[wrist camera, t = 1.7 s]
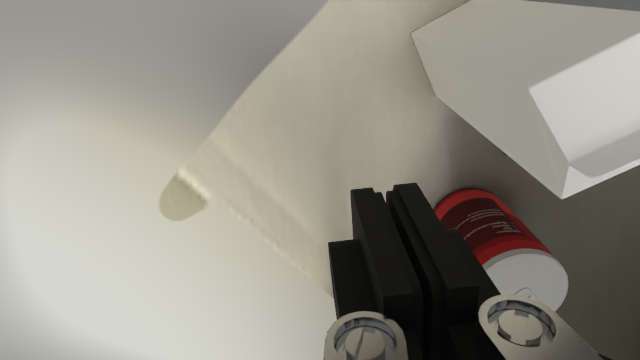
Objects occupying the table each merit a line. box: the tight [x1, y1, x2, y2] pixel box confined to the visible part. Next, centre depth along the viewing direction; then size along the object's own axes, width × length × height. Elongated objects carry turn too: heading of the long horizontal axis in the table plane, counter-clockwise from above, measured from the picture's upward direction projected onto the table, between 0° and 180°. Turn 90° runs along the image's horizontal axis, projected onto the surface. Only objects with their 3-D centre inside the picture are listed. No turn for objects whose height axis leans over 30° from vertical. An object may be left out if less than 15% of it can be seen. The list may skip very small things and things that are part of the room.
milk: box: [411, 0, 640, 199], centre depth 25 cm, size 6×6×22 cm
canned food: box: [434, 189, 568, 312], centre depth 37 cm, size 8×8×11 cm
